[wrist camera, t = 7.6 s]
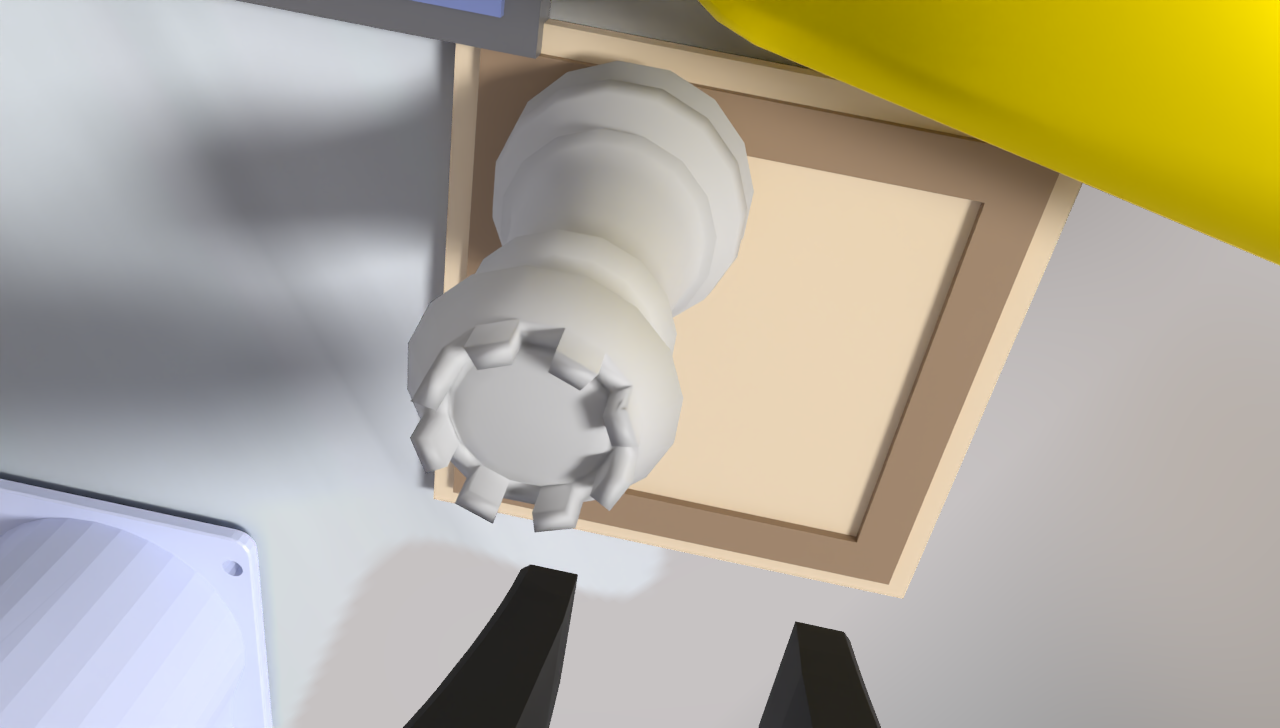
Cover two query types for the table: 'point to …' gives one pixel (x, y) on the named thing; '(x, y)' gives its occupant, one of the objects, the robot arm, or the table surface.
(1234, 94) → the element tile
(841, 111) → the mat
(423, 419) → the rook chess piece
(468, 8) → the ink pad
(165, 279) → the table surface
